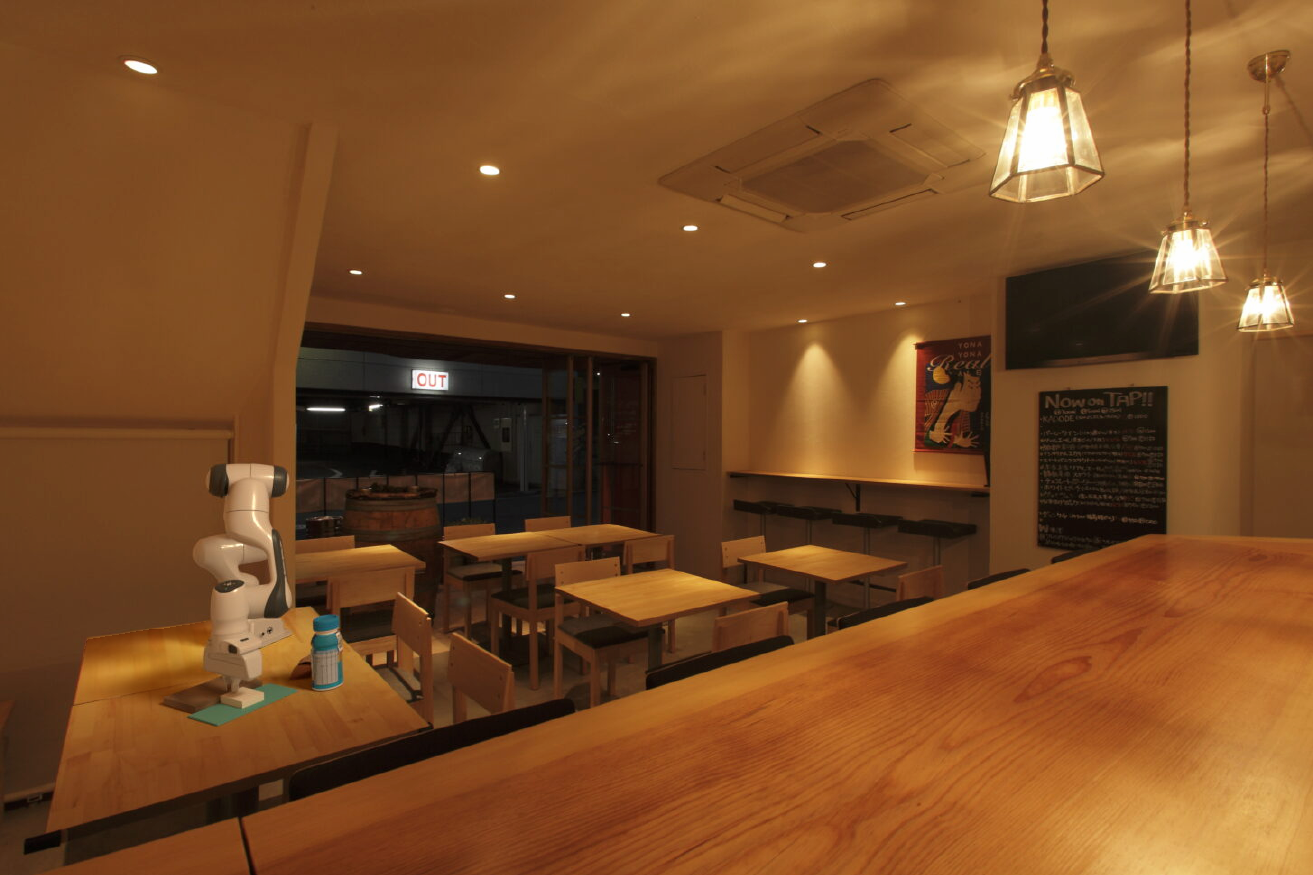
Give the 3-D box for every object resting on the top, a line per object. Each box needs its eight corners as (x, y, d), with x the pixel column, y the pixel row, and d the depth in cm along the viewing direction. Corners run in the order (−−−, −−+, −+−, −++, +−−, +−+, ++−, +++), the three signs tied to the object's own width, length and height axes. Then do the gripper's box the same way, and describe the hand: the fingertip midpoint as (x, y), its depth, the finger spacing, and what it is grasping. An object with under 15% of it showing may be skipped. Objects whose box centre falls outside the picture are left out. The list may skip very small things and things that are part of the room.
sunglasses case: (299, 659, 203) (311, 640, 204) (320, 667, 205) (332, 648, 206) (287, 681, 186) (299, 660, 187) (310, 690, 188) (322, 669, 189)
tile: (242, 693, 177) (242, 686, 177) (264, 699, 173) (263, 692, 173) (220, 702, 171) (220, 695, 171) (242, 708, 168) (241, 701, 167)
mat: (269, 684, 184) (269, 682, 184) (297, 691, 179) (297, 689, 179) (188, 717, 164) (188, 715, 164) (217, 726, 159) (217, 724, 159)
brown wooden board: (231, 679, 188) (231, 672, 188) (262, 686, 182) (262, 680, 182) (163, 704, 171) (163, 697, 171) (195, 713, 166) (195, 706, 166)
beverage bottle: (321, 694, 177) (319, 624, 176) (305, 687, 181) (303, 619, 181) (350, 683, 184) (348, 616, 184) (333, 677, 189) (331, 611, 188)
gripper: (195, 639, 174) (196, 688, 175) (243, 649, 166) (244, 701, 167) (218, 632, 180) (220, 680, 181) (266, 642, 172) (267, 691, 172)
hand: (232, 690), depth 174 cm, fingers closed
